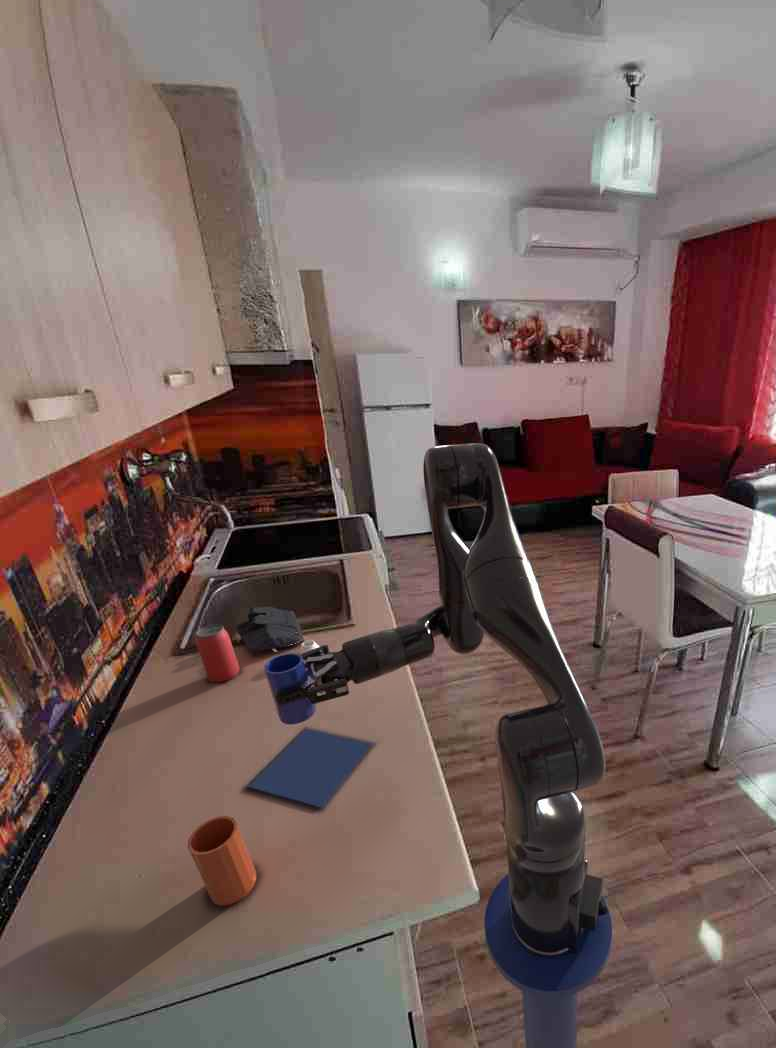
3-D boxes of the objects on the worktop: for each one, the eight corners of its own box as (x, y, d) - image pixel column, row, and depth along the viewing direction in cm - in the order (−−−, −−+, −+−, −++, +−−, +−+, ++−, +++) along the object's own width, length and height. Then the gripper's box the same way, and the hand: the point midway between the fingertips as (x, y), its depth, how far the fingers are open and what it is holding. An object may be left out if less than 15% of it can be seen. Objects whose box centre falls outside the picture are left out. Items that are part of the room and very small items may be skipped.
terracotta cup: (265, 872, 72) (246, 821, 68) (233, 911, 67) (211, 860, 63) (234, 861, 74) (213, 811, 70) (200, 898, 69) (176, 847, 65)
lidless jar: (323, 654, 124) (317, 646, 128) (321, 644, 123) (315, 635, 127) (303, 661, 122) (297, 653, 125) (300, 651, 120) (294, 642, 124)
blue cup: (317, 718, 84) (303, 667, 80) (279, 728, 82) (263, 677, 78) (314, 698, 89) (301, 649, 85) (279, 708, 87) (264, 658, 83)
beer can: (245, 673, 118) (230, 628, 113) (216, 687, 114) (200, 641, 109) (232, 663, 122) (218, 620, 117) (204, 677, 118) (188, 632, 113)
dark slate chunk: (241, 663, 122) (236, 646, 120) (235, 626, 140) (231, 610, 138) (307, 644, 129) (303, 628, 127) (293, 611, 146) (290, 596, 144)
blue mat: (372, 744, 94) (371, 743, 94) (321, 808, 81) (320, 807, 81) (306, 729, 99) (305, 728, 99) (248, 787, 86) (247, 786, 86)
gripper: (359, 620, 93) (261, 649, 86) (385, 655, 82) (274, 692, 74) (366, 655, 96) (272, 685, 89) (392, 693, 85) (286, 732, 78)
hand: (274, 688), depth 82 cm, fingers closed on blue cup, 6 cm apart
